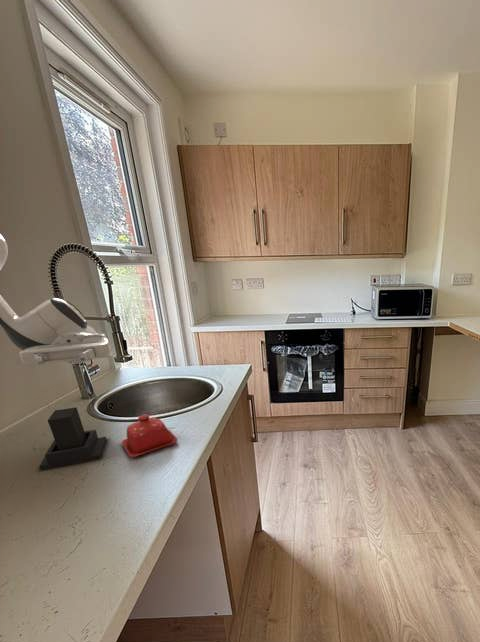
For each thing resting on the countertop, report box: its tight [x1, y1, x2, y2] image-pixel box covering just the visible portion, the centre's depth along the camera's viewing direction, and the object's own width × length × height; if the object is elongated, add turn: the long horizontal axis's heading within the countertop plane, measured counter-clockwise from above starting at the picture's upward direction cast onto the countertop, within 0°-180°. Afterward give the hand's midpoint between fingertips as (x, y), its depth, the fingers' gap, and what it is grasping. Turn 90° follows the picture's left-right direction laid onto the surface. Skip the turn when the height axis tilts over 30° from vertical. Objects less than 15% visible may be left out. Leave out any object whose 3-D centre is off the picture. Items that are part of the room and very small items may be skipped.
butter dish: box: [121, 414, 178, 458], centre depth 88 cm, size 12×12×8 cm
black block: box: [47, 406, 87, 451], centre depth 84 cm, size 4×6×10 cm
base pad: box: [38, 429, 108, 471], centre depth 85 cm, size 12×10×4 cm
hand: (61, 359), depth 88 cm, fingers open, 8 cm apart
